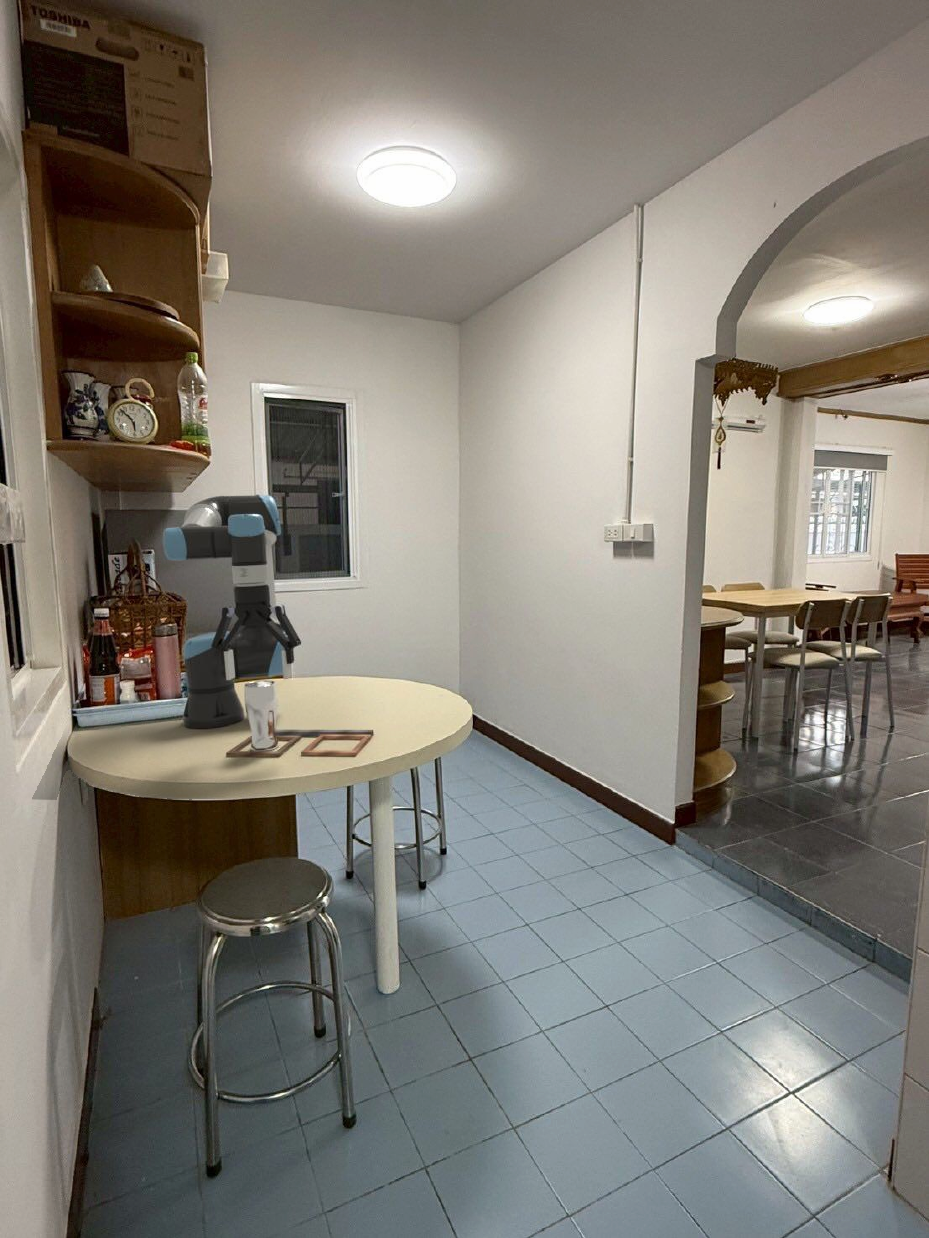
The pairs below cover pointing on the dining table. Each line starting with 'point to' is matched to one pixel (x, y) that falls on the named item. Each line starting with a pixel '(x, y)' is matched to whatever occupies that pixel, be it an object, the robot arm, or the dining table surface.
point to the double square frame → (296, 736)
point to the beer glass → (262, 714)
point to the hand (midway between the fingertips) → (259, 678)
